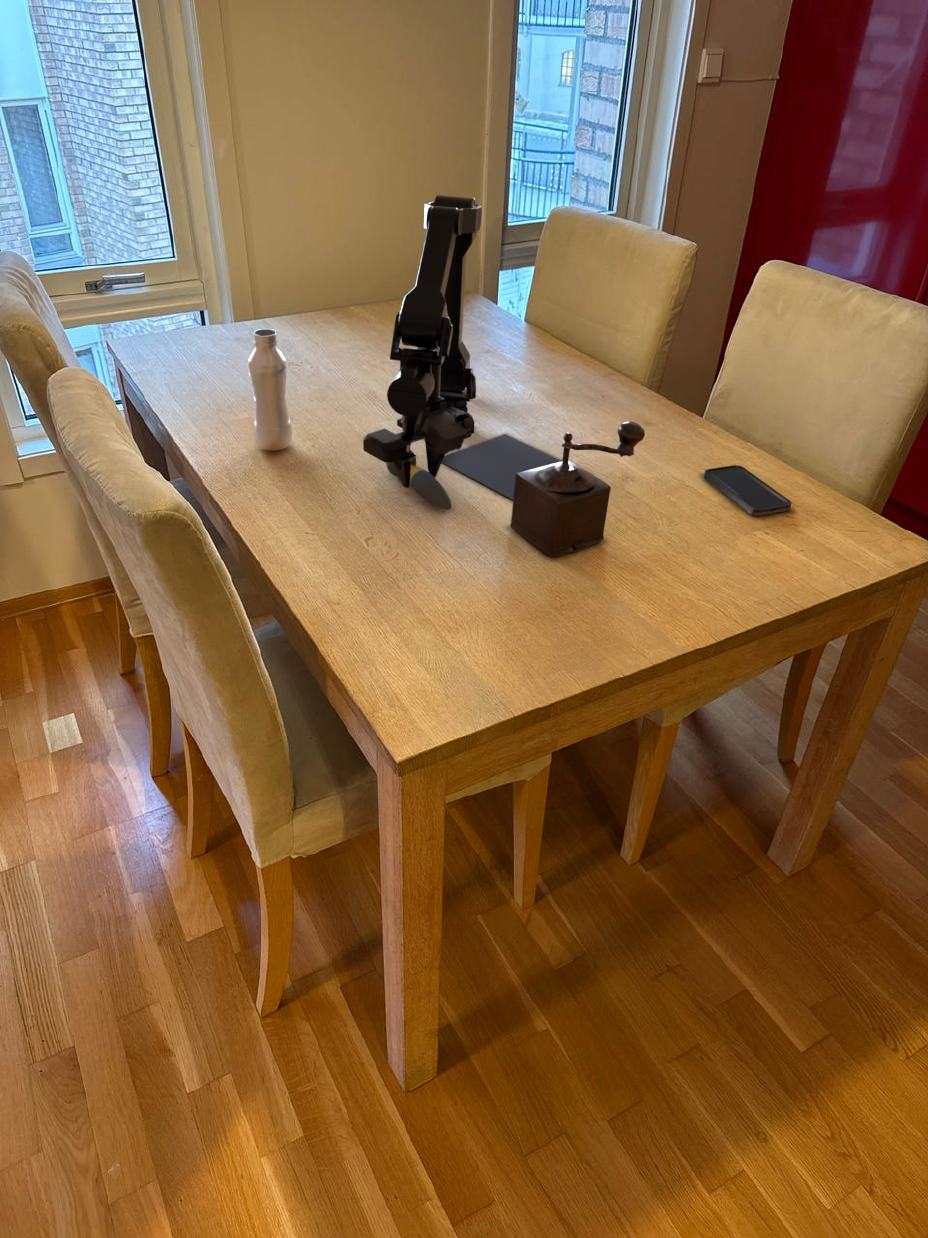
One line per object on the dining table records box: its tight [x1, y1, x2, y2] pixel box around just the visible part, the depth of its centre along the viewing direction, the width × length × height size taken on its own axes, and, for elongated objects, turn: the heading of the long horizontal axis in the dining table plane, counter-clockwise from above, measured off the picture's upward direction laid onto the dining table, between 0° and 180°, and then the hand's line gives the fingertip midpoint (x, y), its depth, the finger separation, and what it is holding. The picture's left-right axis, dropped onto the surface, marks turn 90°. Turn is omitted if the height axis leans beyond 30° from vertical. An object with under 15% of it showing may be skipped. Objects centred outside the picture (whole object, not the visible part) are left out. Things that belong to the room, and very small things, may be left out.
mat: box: [441, 433, 562, 502], centre depth 154 cm, size 20×17×1 cm
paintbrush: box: [385, 449, 452, 511], centre depth 145 cm, size 20×5×5 cm, turn 38°
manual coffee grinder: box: [510, 420, 646, 559], centre depth 132 cm, size 16×11×18 cm
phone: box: [703, 464, 793, 517], centre depth 150 cm, size 8×1×15 cm
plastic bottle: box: [247, 328, 293, 451], centre depth 150 cm, size 6×7×20 cm
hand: (419, 482), depth 146 cm, fingers open, 5 cm apart
